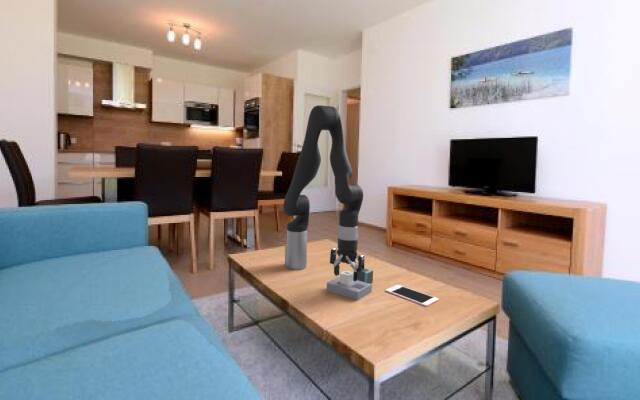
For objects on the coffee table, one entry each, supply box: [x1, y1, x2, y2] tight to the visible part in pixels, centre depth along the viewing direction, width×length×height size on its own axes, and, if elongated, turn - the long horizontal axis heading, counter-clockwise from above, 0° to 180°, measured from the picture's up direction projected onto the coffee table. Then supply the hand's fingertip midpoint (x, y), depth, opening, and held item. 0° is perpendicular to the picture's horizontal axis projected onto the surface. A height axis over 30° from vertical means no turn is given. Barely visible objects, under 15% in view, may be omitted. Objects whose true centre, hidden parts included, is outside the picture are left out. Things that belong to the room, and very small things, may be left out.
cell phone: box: [384, 284, 439, 308], centre depth 129 cm, size 9×18×1 cm, turn 43°
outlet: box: [326, 276, 373, 301], centre depth 132 cm, size 14×10×3 cm
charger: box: [339, 270, 354, 286], centre depth 132 cm, size 4×4×7 cm
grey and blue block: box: [358, 268, 374, 284], centre depth 141 cm, size 5×4×5 cm
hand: (346, 277), depth 133 cm, fingers open, 8 cm apart
